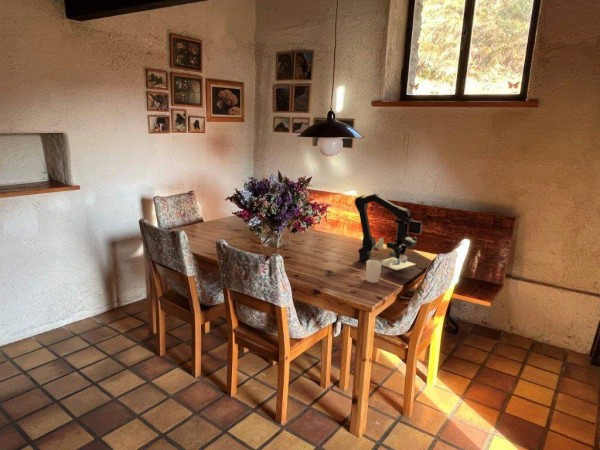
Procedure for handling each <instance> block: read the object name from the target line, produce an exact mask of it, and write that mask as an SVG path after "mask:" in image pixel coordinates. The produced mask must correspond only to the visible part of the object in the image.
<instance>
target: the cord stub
mask: <svg viewBox="0 0 600 450" xmlns="http://www.w3.org/2000/svg"><path fill="white" fill-rule="evenodd" d="M388 254H389V256H390V257H391V258H393V257H395V258H397V257H396V254H395V252H394V251H390V252H389V253H388ZM406 257H407V255H406V254H404V255H403V254H400V257H399V260H402V261H403V260H406Z"/></svg>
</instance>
